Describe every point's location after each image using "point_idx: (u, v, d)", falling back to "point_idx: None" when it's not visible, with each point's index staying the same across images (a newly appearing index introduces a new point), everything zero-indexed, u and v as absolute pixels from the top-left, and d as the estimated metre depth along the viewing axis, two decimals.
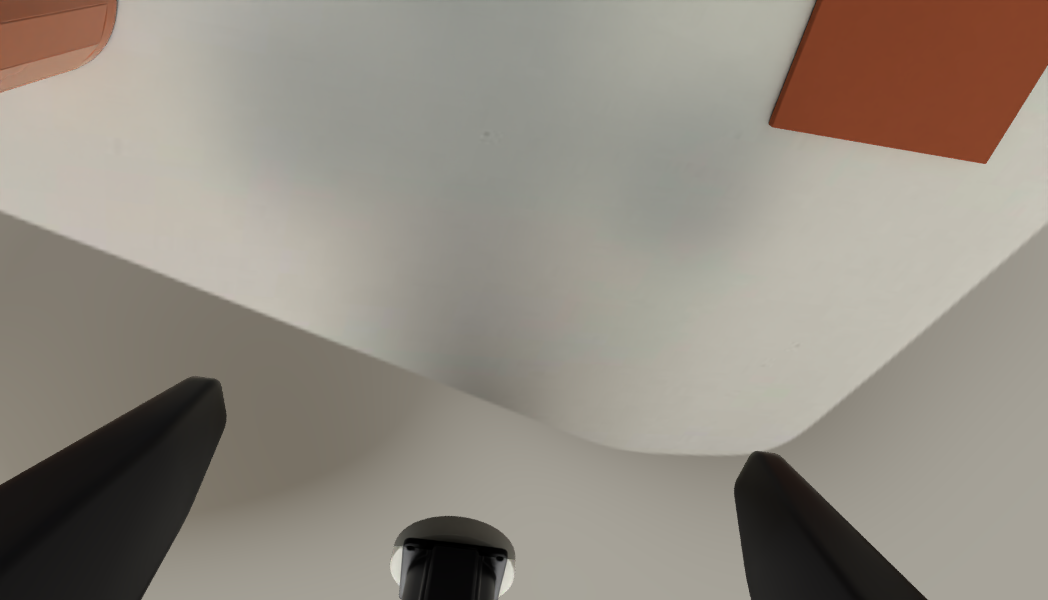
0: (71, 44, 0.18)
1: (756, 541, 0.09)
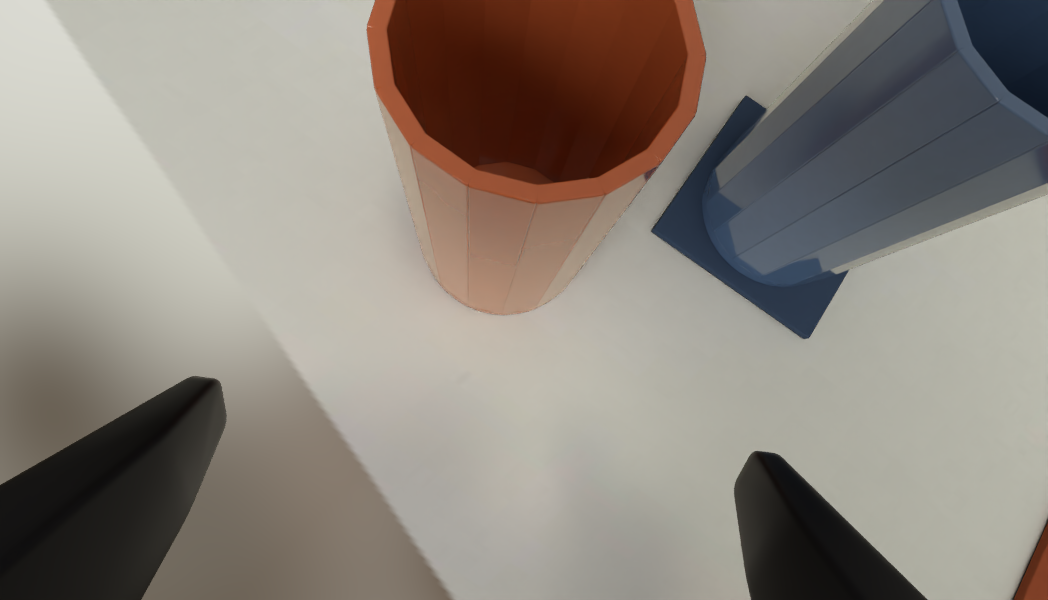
0: (543, 299, 0.22)
1: (756, 541, 0.09)
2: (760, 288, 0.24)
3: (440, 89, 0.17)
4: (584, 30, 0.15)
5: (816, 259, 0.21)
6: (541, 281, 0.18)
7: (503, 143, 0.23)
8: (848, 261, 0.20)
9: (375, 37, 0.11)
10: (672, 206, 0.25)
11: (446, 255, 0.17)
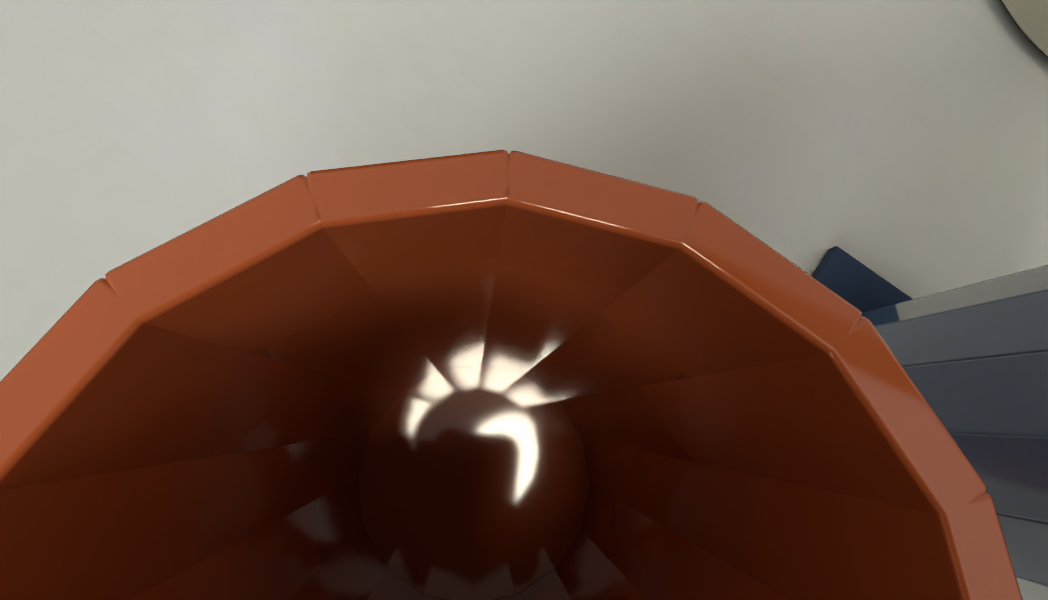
0: None
1: None
2: None
3: (322, 397, 0.08)
4: (615, 339, 0.07)
5: None
6: None
7: (472, 360, 0.14)
8: None
9: None
10: None
11: None
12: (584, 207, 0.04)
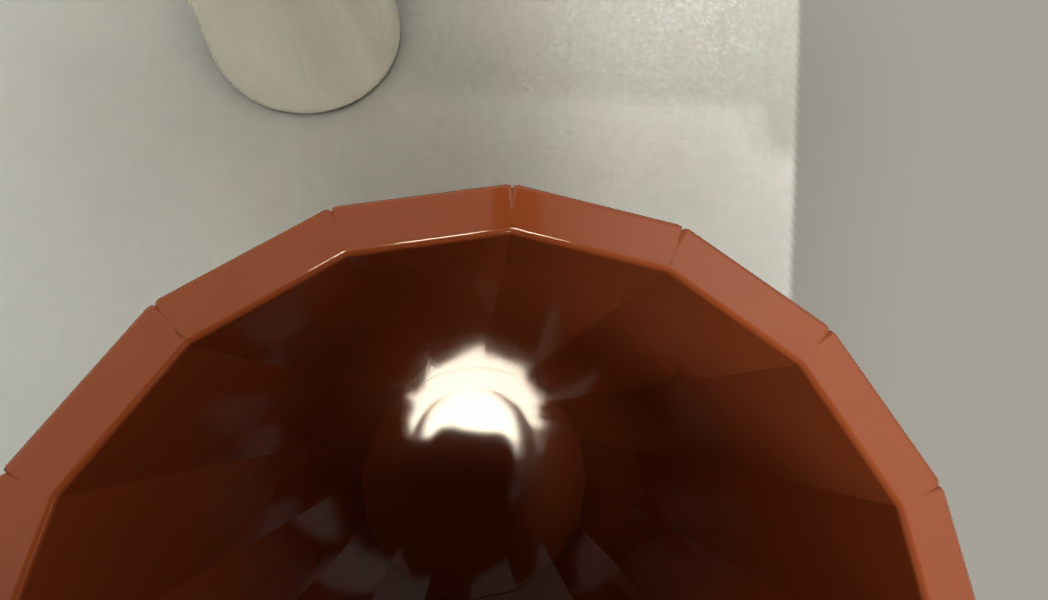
0: None
1: None
2: None
3: (331, 402, 0.09)
4: (609, 346, 0.07)
5: None
6: None
7: (471, 363, 0.15)
8: None
9: None
10: None
11: None
12: (580, 235, 0.04)
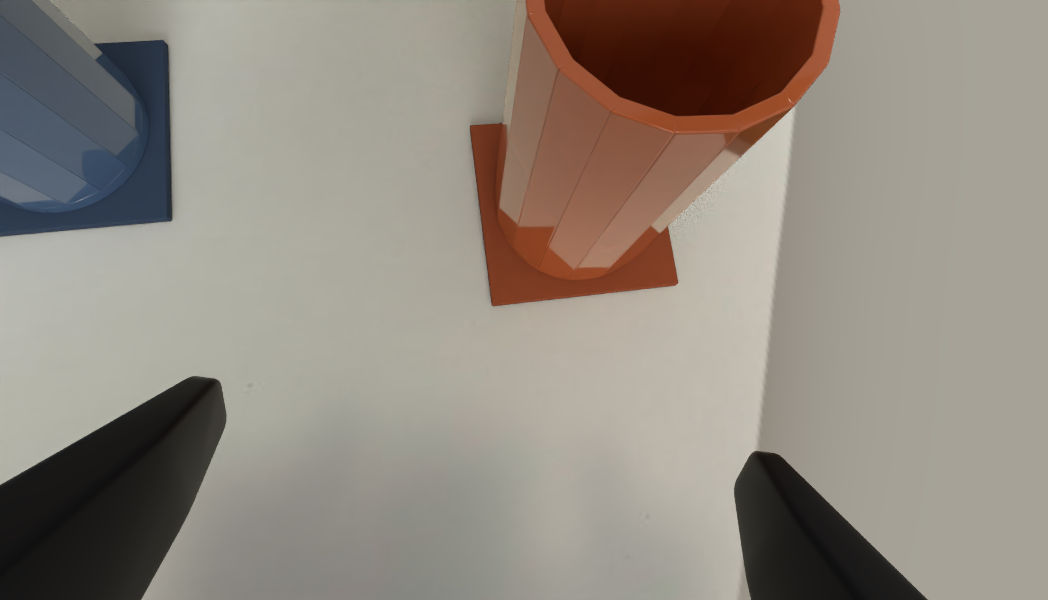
0: (615, 264, 0.22)
1: (756, 541, 0.09)
2: (90, 211, 0.23)
3: None
4: None
5: (10, 163, 0.19)
6: (626, 239, 0.19)
7: None
8: (27, 145, 0.19)
9: None
10: None
11: (539, 204, 0.18)
12: None
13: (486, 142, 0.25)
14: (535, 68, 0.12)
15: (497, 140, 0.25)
